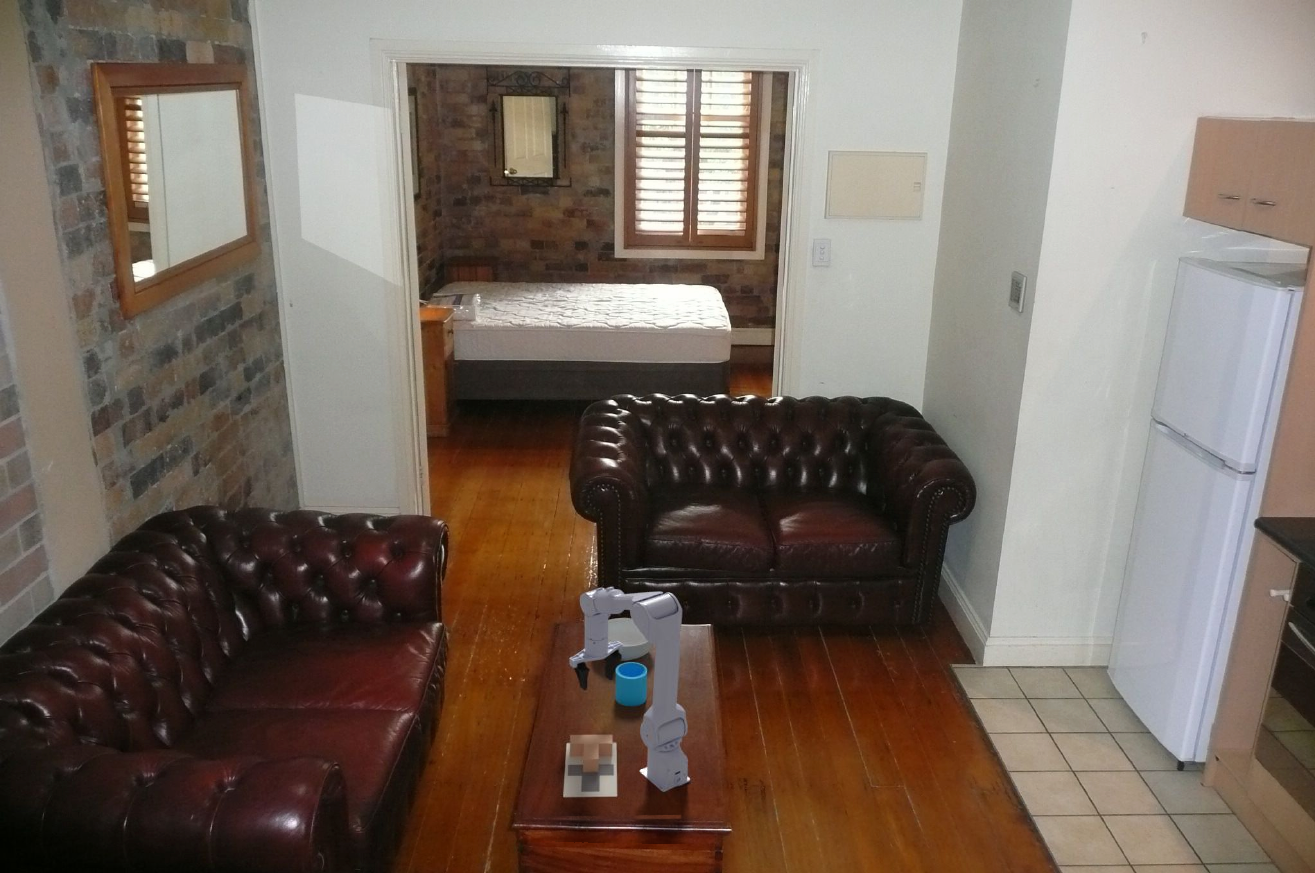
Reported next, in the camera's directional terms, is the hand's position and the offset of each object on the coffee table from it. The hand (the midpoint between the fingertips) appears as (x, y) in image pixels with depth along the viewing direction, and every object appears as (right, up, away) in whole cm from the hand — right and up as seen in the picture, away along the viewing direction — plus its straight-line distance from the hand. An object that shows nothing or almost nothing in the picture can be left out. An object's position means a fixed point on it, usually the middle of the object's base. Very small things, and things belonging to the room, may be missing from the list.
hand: (596, 683), depth 255 cm
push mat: (0, -16, -17) cm, 24 cm away
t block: (0, -15, -14) cm, 20 cm away
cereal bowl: (+6, 0, +34) cm, 34 cm away
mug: (+9, -6, +14) cm, 18 cm away
